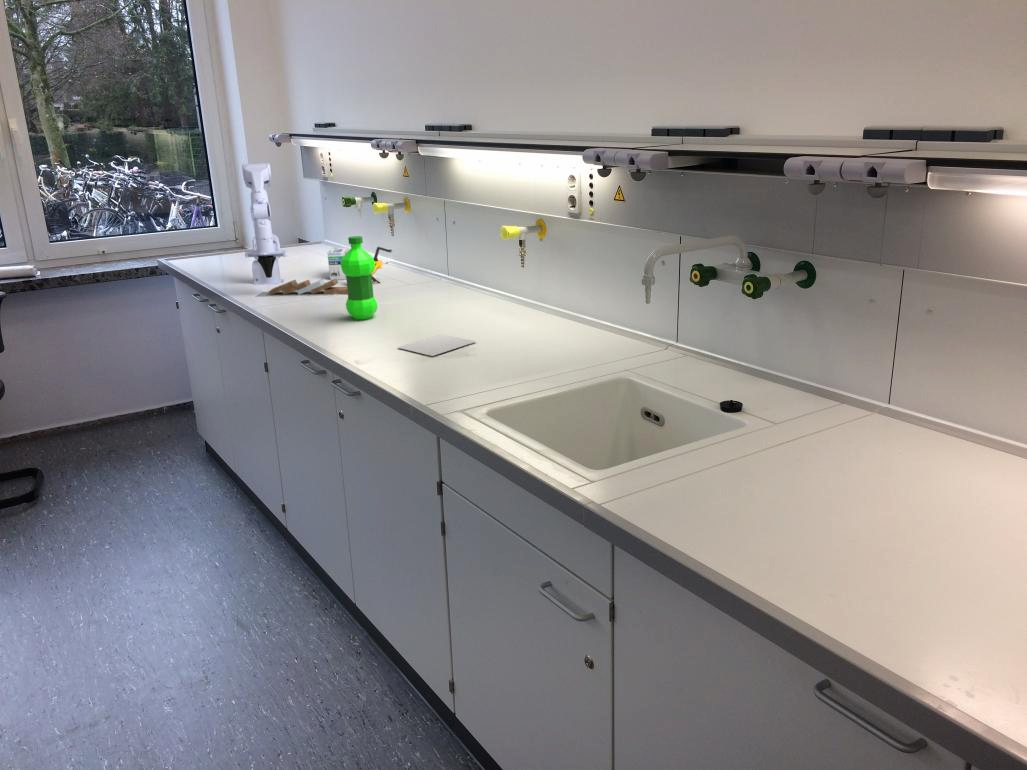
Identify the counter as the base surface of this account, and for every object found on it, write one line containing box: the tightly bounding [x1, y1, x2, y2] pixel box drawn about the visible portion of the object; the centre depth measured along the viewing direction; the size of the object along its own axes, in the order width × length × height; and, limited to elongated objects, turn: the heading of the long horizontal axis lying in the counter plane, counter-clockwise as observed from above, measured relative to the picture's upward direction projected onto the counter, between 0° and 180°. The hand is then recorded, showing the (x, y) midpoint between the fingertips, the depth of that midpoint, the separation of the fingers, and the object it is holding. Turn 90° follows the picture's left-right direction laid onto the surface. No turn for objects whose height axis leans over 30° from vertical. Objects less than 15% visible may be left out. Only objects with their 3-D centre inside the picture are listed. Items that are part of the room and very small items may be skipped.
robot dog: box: [345, 246, 393, 284], centre depth 309 cm, size 6×18×13 cm, turn 120°
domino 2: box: [282, 279, 312, 295], centre depth 297 cm, size 2×5×9 cm
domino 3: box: [310, 278, 339, 294], centre depth 296 cm, size 2×5×9 cm
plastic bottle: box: [341, 235, 378, 321], centre depth 258 cm, size 10×10×25 cm
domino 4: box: [323, 286, 348, 295], centre depth 296 cm, size 2×5×9 cm
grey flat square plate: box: [396, 333, 477, 357], centre depth 223 cm, size 23×25×1 cm
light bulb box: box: [327, 247, 350, 281], centre depth 324 cm, size 11×7×11 cm, turn 2°
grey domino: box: [296, 278, 326, 295], centre depth 297 cm, size 2×5×9 cm
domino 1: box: [268, 279, 298, 295], centre depth 297 cm, size 2×5×9 cm
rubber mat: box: [255, 290, 335, 298], centre depth 298 cm, size 28×8×1 cm, turn 86°
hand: (269, 277), depth 297 cm, fingers closed
